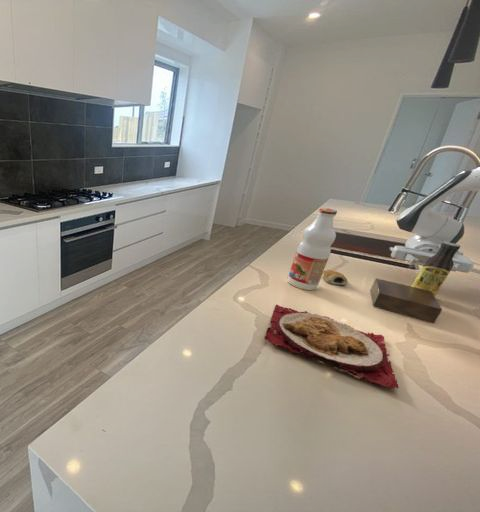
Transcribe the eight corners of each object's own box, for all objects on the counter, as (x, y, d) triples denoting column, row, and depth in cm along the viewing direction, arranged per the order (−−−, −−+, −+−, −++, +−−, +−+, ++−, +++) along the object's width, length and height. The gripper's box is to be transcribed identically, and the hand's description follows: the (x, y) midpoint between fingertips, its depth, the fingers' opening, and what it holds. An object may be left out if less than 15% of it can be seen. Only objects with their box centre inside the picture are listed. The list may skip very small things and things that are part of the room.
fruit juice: (319, 293, 103) (349, 214, 92) (287, 286, 107) (313, 210, 96) (314, 282, 111) (342, 208, 100) (285, 276, 115) (309, 204, 104)
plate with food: (395, 396, 63) (403, 383, 62) (262, 342, 76) (266, 331, 75) (381, 340, 81) (387, 330, 79) (275, 305, 94) (279, 295, 93)
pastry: (317, 273, 118) (321, 264, 117) (337, 276, 117) (340, 267, 115) (327, 283, 110) (331, 274, 109) (348, 287, 108) (352, 278, 107)
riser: (424, 304, 99) (431, 291, 97) (434, 323, 89) (442, 309, 87) (370, 290, 107) (375, 278, 105) (372, 306, 96) (379, 293, 94)
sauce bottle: (408, 295, 104) (436, 242, 96) (407, 289, 108) (434, 238, 101) (434, 303, 100) (466, 248, 92) (433, 296, 104) (462, 243, 96)
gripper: (392, 239, 117) (397, 248, 107) (469, 253, 106) (482, 265, 96) (385, 254, 120) (389, 264, 110) (460, 269, 108) (472, 282, 98)
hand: (433, 265), depth 103 cm, fingers open, 8 cm apart
